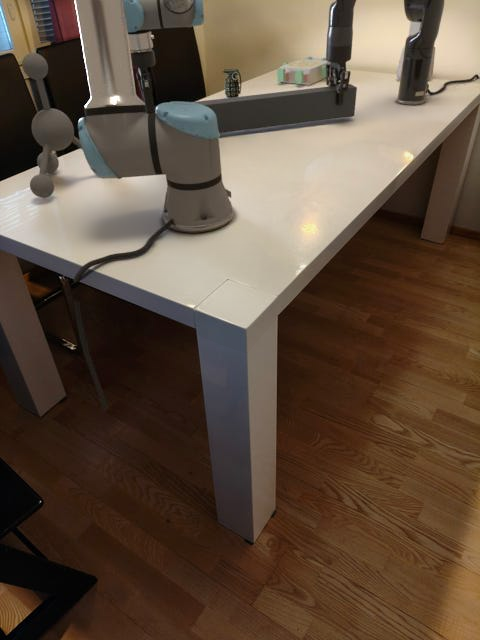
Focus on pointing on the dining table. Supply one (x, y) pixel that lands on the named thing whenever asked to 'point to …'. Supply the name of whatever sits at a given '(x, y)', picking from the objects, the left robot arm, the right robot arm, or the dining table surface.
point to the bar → (280, 108)
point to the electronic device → (413, 30)
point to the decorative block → (303, 71)
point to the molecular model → (47, 129)
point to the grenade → (232, 83)
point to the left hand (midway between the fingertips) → (153, 136)
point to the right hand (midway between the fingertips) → (335, 102)
